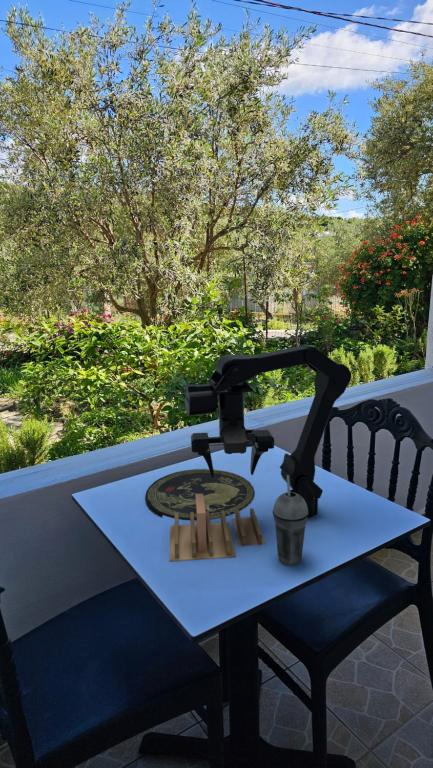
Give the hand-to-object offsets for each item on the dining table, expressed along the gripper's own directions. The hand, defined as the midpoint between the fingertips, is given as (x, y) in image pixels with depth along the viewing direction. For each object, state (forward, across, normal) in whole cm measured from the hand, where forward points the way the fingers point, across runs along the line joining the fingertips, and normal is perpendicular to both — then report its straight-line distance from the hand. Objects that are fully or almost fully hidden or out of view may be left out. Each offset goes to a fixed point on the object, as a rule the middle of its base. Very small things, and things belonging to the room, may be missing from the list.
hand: (232, 475), depth 110 cm
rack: (+13, -8, -7) cm, 17 cm away
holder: (+13, +3, -4) cm, 14 cm away
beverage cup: (+13, +10, -16) cm, 23 cm away
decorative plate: (+14, -7, +17) cm, 23 cm away
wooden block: (+12, -8, -7) cm, 16 cm away
